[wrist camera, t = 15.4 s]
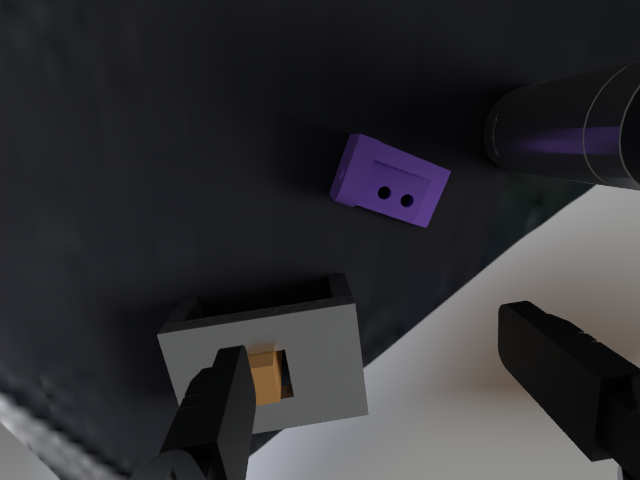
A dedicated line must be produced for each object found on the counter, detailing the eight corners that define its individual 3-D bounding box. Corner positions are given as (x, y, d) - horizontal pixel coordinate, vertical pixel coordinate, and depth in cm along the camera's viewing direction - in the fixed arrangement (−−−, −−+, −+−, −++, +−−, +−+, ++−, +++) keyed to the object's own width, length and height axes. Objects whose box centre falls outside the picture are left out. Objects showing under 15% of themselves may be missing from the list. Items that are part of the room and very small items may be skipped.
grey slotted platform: (344, 273, 43) (355, 303, 35) (356, 369, 47) (368, 414, 39) (182, 298, 42) (156, 334, 34) (208, 393, 46) (191, 444, 38)
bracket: (328, 193, 40) (335, 203, 33) (349, 134, 38) (360, 133, 32) (421, 224, 42) (445, 240, 35) (445, 169, 40) (474, 176, 34)
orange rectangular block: (276, 313, 43) (273, 365, 34) (282, 343, 45) (280, 401, 35) (253, 316, 43) (242, 370, 34) (259, 347, 45) (251, 406, 35)
